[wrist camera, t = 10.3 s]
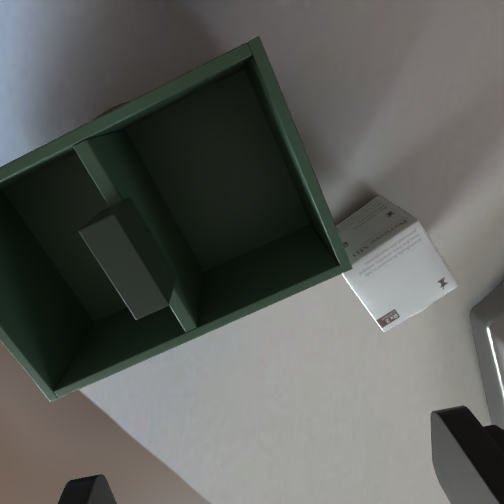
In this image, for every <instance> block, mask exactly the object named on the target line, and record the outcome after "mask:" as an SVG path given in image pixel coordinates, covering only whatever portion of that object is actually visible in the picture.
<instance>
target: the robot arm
mask: <svg viewBox="0 0 504 504" xmlns="http://www.w3.org/2000/svg"><path fill="white" fill-rule="evenodd" d="M431 441H432V460H433V465H434V469H435V472H436V475H437V478H438V480H439V483H440V485H441V487H442V489H443V490H444V492H445V494H446V496H447V497H448V499H449V501H450V503H451V504H504V430H503V429H502V428H500V427H498V426H497V425H490V426H485V427H483V426H482V425H481V424H480V422H479V421H478V420H477V419H476V417H475V416H474V415H473V414H472V412H471V411H470V410H469V409H468V408H467V407H465V406H458V407H453V408H448V409H442V410H437V411H433V412H432V413H431ZM58 504H117V503H116V501H115V498H114V496H113V494H112V492H111V489H110V487H109V484H108V482H107V480H106V478H105V476H104V475H102V474H100V475H95V476H90V477H85V478H79V479H75V480H70V481H69V482H68V483H67V484H66V486H65V488H64V490H63V493H62V495H61V497H60V500H59V502H58Z"/></svg>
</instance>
